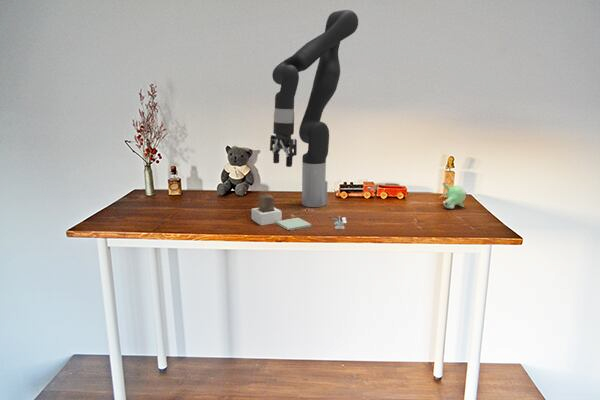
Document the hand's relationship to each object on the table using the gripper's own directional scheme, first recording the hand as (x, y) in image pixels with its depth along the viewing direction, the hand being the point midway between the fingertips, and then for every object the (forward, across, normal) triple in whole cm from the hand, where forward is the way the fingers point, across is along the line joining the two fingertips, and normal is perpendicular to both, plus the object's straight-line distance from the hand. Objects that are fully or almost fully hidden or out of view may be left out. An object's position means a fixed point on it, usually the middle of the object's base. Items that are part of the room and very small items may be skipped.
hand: (282, 164), depth 178 cm
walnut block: (+18, -8, +11) cm, 23 cm away
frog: (+15, -35, -58) cm, 69 cm away
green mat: (+18, -18, +6) cm, 26 cm away
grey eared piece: (+18, -25, -8) cm, 32 cm away
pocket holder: (+18, -8, +11) cm, 23 cm away
